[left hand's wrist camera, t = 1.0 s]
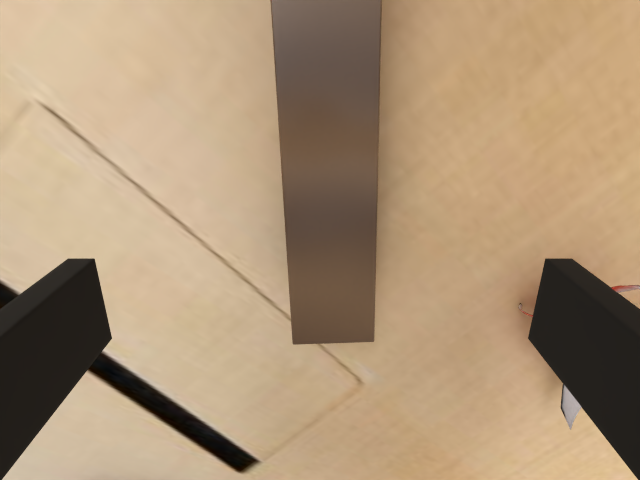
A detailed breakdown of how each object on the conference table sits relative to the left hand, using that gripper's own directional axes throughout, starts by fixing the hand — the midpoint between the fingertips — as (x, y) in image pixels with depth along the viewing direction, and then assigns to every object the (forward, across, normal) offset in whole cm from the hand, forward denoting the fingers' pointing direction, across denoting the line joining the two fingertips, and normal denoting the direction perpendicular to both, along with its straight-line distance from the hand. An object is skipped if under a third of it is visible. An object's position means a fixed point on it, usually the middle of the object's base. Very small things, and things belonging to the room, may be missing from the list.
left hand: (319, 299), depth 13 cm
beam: (+18, 0, -17) cm, 24 cm away
